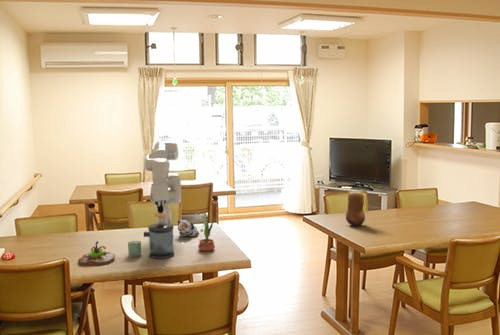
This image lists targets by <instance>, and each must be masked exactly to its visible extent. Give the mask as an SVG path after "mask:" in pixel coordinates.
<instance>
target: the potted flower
mask: <svg viewBox="0 0 500 335" xmlns="http://www.w3.org/2000/svg"><path fill="white" fill-rule="evenodd" d="M200 213H201V216H200ZM194 216H195V217H197V220H198V221H201V220H202V221H203V225H202V226H201V229H200V232H201V233H202V232H203V234H204V238H205V239H204V238H203V239H200V240H199V244H198V246H197V247H198V250H199V251H201V252H211V250H212V251H213V250H215V248H216V247H215V243H214V242H215V241H214V239H210V238H209V237H210V236H211V231H212V228H213V225H214V221H215V216H213V217H212V220H211V224H210V226H209V220H208V217H207V216H208V215H207V214H206V212H205V211H204V210H203V209H202V210H200V211H199V212H196V213H195V214H194ZM203 227H204V229H203Z"/></svg>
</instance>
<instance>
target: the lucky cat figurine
mask: <svg viewBox="0 0 500 335" xmlns="http://www.w3.org/2000/svg"><path fill="white" fill-rule="evenodd" d="M177 230H178V231H179V235H180V237H193V238H194V237H195V238H196V237H198V236H199V235H200V232H199V230H198V228H197V227H196V225H194V222H190V221H189V220H187V219H181V218H180V219H177ZM197 235H198V236H197Z"/></svg>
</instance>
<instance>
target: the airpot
mask: <svg viewBox="0 0 500 335" xmlns="http://www.w3.org/2000/svg"><path fill="white" fill-rule="evenodd" d="M147 230H148V231H143V237H144V238H146V237H148V244H149V245H148V246H149V253H148V256H149V258H151V259H152V260H153V259H155V260H164V259H165V260H166V258H167V259H170V257H171V258H173V257H174V256H175V251H174V249H175V246H174V236H173V234H174V224H172V223H171V224H168V223H163V224H162V225H159V224H157V223H154V224H150V225H148V226H147Z"/></svg>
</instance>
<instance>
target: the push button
mask: <svg viewBox="0 0 500 335" xmlns="http://www.w3.org/2000/svg"><path fill="white" fill-rule="evenodd" d="M154 216H155V217H156V218H157V217H158V222H159V225H162V224H163V217H164V216H166V212H164V211H163V213H159V212H156V211H155V212H154Z"/></svg>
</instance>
